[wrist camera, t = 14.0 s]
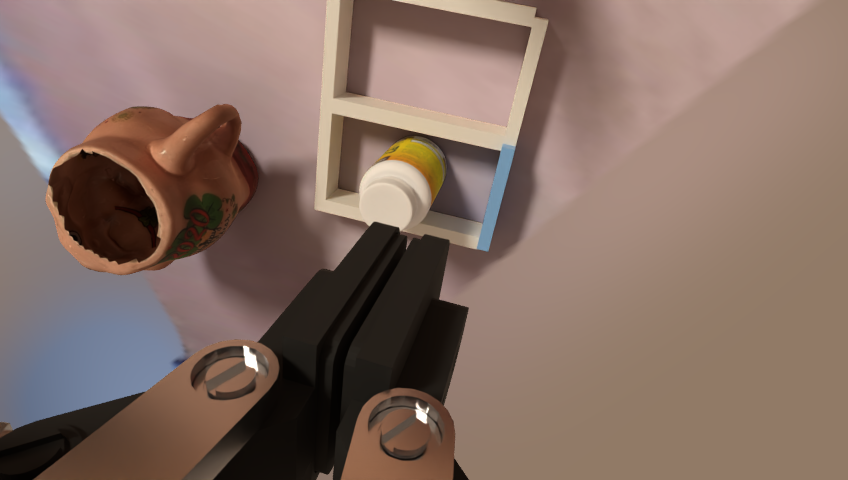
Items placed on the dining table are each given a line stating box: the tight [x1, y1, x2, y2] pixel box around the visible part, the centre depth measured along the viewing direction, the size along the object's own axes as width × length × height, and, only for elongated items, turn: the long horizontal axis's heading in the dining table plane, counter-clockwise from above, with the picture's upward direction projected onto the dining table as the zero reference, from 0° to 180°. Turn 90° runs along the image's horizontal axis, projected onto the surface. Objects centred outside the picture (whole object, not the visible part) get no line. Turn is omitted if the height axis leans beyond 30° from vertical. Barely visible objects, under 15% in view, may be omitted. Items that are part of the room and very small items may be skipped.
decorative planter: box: [46, 104, 258, 275], centre depth 40 cm, size 20×12×14 cm, turn 137°
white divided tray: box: [314, 0, 549, 252], centre depth 39 cm, size 16×19×4 cm
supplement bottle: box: [359, 136, 447, 231], centre depth 38 cm, size 6×6×10 cm
